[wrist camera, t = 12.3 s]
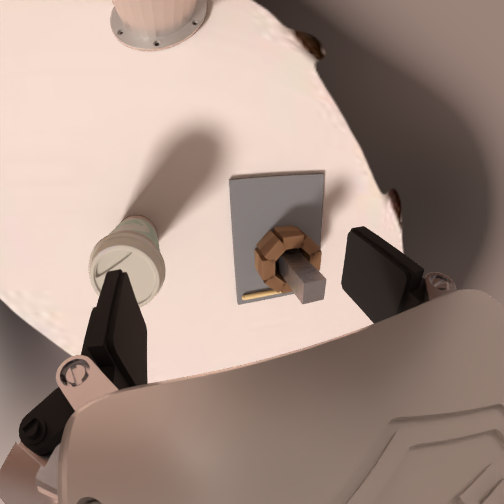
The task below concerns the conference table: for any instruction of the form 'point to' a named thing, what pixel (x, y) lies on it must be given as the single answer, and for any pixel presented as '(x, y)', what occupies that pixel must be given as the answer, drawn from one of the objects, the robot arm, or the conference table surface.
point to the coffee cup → (130, 258)
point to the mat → (270, 222)
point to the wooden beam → (301, 276)
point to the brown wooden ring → (275, 247)
